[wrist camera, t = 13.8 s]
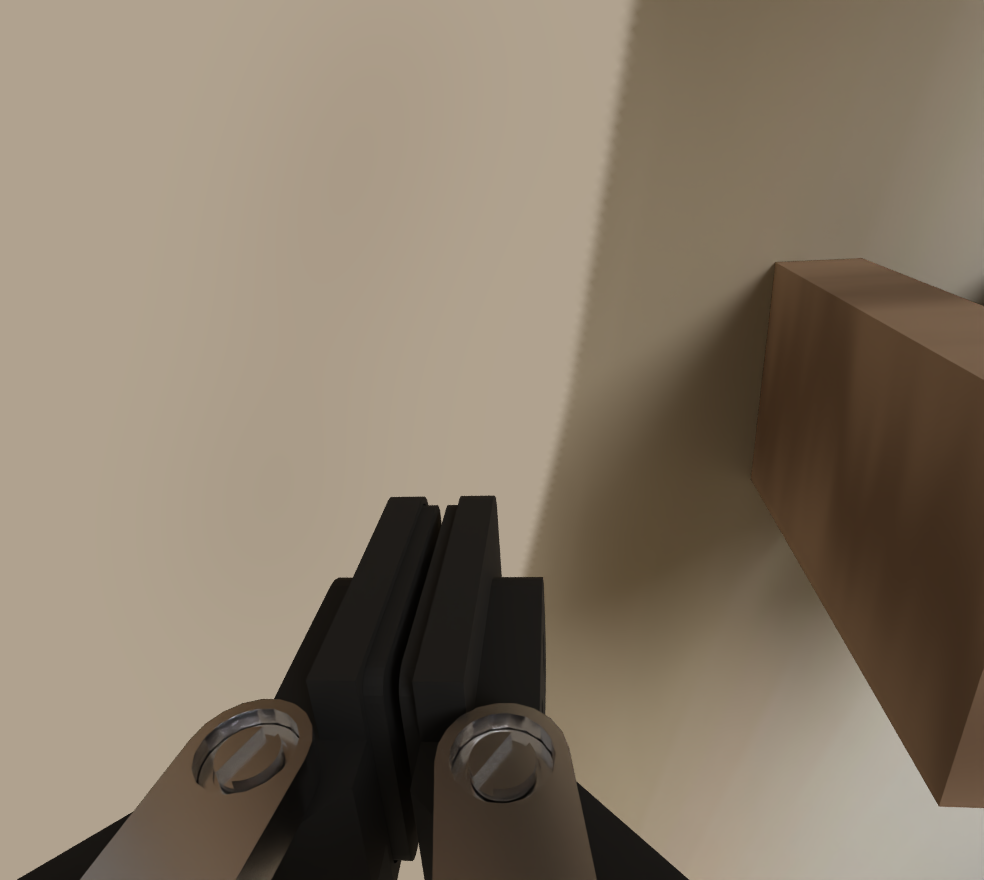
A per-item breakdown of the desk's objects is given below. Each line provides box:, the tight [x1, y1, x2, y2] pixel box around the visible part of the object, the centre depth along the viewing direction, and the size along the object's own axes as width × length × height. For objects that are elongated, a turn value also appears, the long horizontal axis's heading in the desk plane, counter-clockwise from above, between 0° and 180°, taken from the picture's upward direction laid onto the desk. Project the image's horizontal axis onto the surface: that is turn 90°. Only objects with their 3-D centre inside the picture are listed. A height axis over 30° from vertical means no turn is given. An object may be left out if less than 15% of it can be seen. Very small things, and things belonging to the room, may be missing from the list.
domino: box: [751, 258, 984, 808], centre depth 13 cm, size 6×2×10 cm, turn 4°
